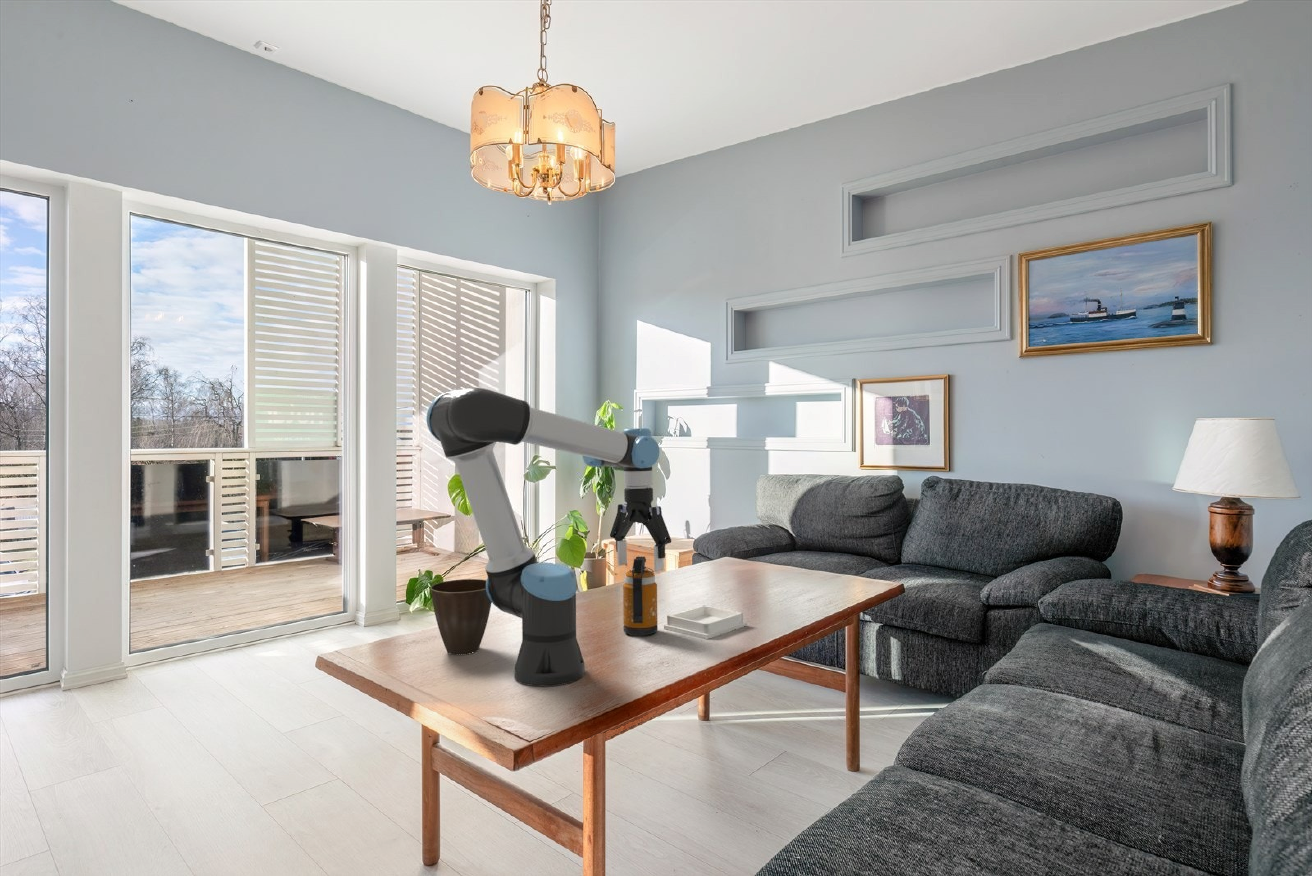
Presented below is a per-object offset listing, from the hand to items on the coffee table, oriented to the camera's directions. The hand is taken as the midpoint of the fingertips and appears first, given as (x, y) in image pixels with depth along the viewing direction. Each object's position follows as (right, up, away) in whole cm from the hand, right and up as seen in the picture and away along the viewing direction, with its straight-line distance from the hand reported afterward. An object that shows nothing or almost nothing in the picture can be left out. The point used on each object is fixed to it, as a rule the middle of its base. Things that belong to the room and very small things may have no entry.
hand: (640, 567), depth 186 cm
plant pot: (-43, -18, -13) cm, 48 cm away
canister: (0, -17, 0) cm, 17 cm away
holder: (+18, -17, +5) cm, 25 cm away
